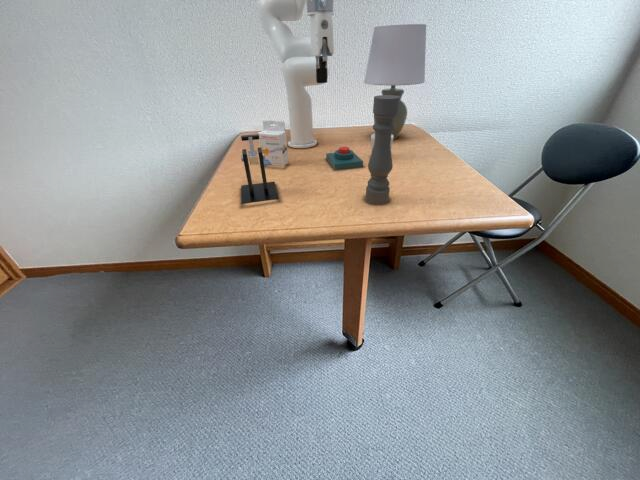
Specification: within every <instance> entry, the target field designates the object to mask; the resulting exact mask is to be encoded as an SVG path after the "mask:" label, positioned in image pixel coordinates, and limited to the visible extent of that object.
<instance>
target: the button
mask: <svg viewBox="0 0 640 480" xmlns="http://www.w3.org/2000/svg"><path fill="white" fill-rule="evenodd" d="M338 150H339V153H340V154H348V153H349V150H350V147H348V146H340V147H339V148H338Z"/></svg>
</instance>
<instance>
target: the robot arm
mask: <svg viewBox="0 0 640 480" xmlns="http://www.w3.org/2000/svg"><path fill="white" fill-rule="evenodd" d="M305 7H306V15H307V17H310V36H296V35H294V34H293V32H292V30H291V28H290V27H289V26H288V25H287V24H286V23H284V22H296V21H300V20H301V18H302V16H303V14H304V10H305ZM257 13H258V18H259V21H260V24H261V27H262V28H263V31H264V32H265V34H266V35H267V36H268V37H269V39H270V40H271V42H272V44H273V47H274V49H275V51H276V53H277V56H278V58H279V60H280V62H281V63H282V69H281V71H282V77H283V81H284V86H285V91H286V96H287V97H286V99H287V107H288V109H287V110H288V119H289V131H290V132H289V133H290V140H289V141H287V147H290V148H293V149H309V148H313V147H315V146H317V144H318V140H317V139H315V138H314V128H313V127H314V125H313V107H312V106H313V104H312V96H311V95H310V93H309V92H308V91H307V89H306V87H308V86H309V87H313V86H321V85H324V84H327V83H328V78H329V73H330V72H329V71H330V70H329V67H328V57H331V56H333V55H334V49H335V47H334V25H333V15H334V0H258V1H257Z"/></svg>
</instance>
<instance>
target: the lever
mask: <svg viewBox="0 0 640 480" xmlns="http://www.w3.org/2000/svg"><path fill="white" fill-rule="evenodd" d="M240 139H241V141H242V142H247V141H248V145H249V150H247V157H248V162H249V166H252V165H259V157H258V151H257V150H255V146H254V141H257V140H258V139H259V134H258V133H256V134H245V135H244V134H243V135H240ZM258 141H259V140H258Z"/></svg>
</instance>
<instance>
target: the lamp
mask: <svg viewBox="0 0 640 480" xmlns="http://www.w3.org/2000/svg"><path fill="white" fill-rule="evenodd" d="M426 44H427V24H425V23H410V24H409V23H407V24H392V25H391V24H389V25H377V26H374V27H373V33H372V38H371V44H370V48H369V54H368V60H367V64H366V69H365V75H364V81H363V83H364V84H366V85H370V86H371V85H372V86H390V88H383V89H381V92H380V93H381V95H395V96H400V103H399V111H398V113H397V117H396V118H395V119H394V121H393V124H394V125H395V129H394V130H393V132H392V135H393V136H394V138H393V140H396V139H398V138H399V135H400V134H401V132H402V131H403V128H404V126H405V124H406V121H407V118H408V108H407V105H406V103H405V102H403V101H402V100H401V99H402V97H403V95H404V93H405V90H404V89H403V88H396V86H412V85H420V84H421V85H422V84H424V83H425V82H426V80H425V79H426V76H425V75H426V51H427V49H426V46H427V45H426ZM375 123H376V121H375V118H374V117H373V125H374V124H375Z"/></svg>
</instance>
